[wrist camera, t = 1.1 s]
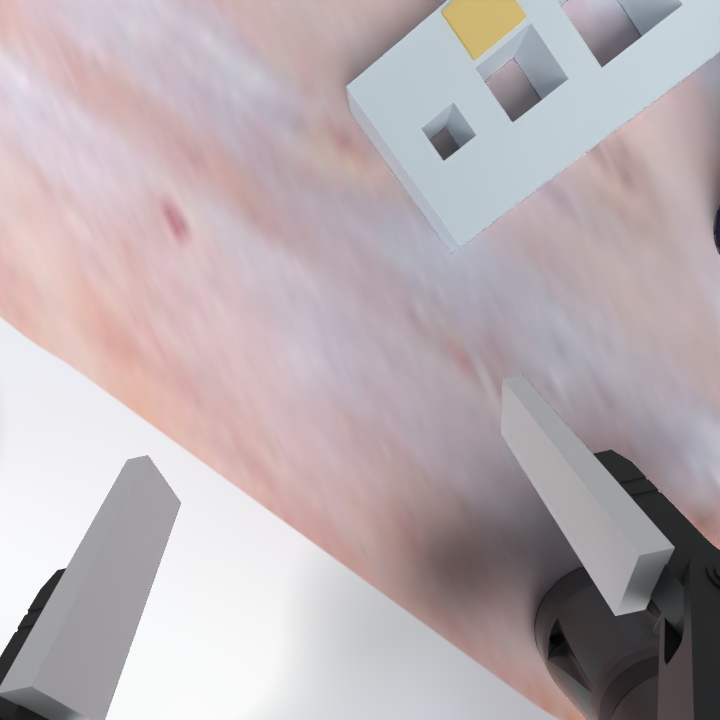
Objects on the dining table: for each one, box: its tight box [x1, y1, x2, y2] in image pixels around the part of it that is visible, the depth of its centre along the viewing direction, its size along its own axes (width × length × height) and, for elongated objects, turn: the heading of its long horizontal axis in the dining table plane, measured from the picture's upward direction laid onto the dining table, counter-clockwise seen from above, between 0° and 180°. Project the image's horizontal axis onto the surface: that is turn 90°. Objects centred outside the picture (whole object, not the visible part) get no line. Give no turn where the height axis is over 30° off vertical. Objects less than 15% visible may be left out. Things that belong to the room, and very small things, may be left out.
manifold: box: [346, 0, 720, 254], centre depth 31 cm, size 16×26×4 cm, turn 127°
